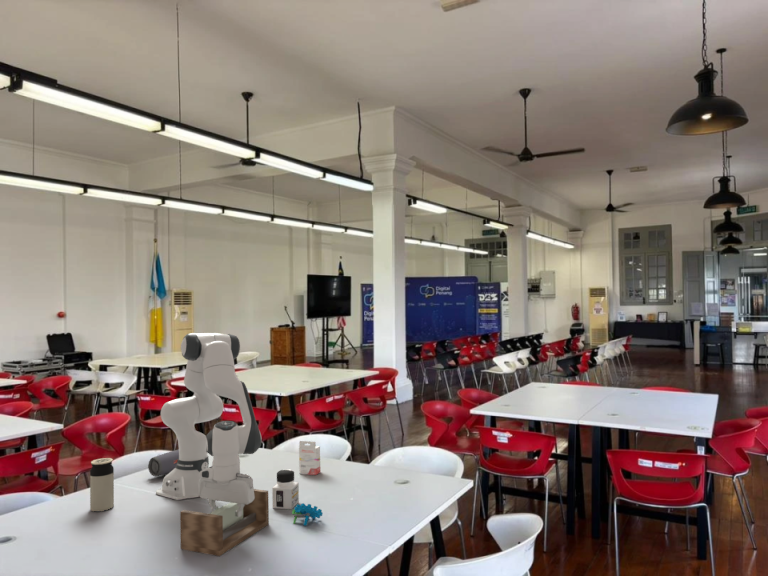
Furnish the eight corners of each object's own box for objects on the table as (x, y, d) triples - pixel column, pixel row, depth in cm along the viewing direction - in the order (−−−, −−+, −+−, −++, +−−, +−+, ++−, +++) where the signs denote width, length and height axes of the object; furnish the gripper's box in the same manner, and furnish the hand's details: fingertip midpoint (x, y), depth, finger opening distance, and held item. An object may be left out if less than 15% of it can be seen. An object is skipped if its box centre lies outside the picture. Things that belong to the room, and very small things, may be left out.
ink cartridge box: (321, 472, 252) (320, 439, 253) (316, 475, 248) (316, 442, 248) (303, 470, 255) (303, 438, 255) (299, 474, 250) (298, 441, 251)
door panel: (208, 539, 177) (208, 513, 178) (236, 523, 190) (235, 499, 190) (216, 540, 176) (216, 514, 176) (243, 524, 189) (243, 500, 189)
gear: (327, 514, 196) (315, 501, 190) (323, 531, 192) (311, 518, 185) (300, 515, 200) (287, 502, 194) (296, 531, 195) (282, 518, 189)
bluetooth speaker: (160, 480, 244) (160, 457, 245) (147, 477, 249) (147, 455, 250) (202, 467, 264) (202, 446, 264) (189, 464, 269) (189, 444, 269)
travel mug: (118, 506, 213) (118, 458, 214) (100, 513, 206) (99, 464, 207) (104, 503, 217) (103, 457, 217) (85, 510, 209) (85, 462, 210)
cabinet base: (180, 548, 174) (180, 511, 174) (233, 518, 198) (232, 486, 198) (219, 556, 168) (219, 517, 169) (268, 524, 192) (268, 490, 193)
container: (291, 509, 206) (291, 474, 206) (272, 508, 208) (271, 473, 208) (299, 502, 214) (298, 468, 214) (280, 501, 215) (279, 467, 216)
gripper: (258, 472, 183) (258, 514, 182) (208, 466, 191) (208, 507, 190) (246, 477, 177) (247, 521, 176) (195, 471, 185) (195, 513, 184)
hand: (226, 514), depth 183 cm, fingers open, 8 cm apart
